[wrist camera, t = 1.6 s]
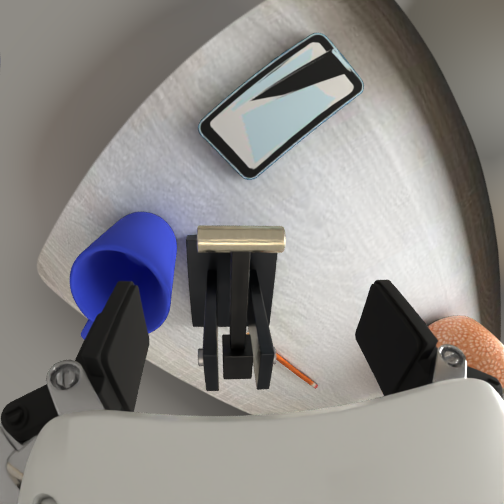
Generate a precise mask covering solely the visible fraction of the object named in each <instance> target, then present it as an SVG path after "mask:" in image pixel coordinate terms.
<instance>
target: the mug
mask: <svg viewBox="0 0 504 504" xmlns="http://www.w3.org/2000/svg"><path fill="white" fill-rule="evenodd" d="M176 253H177V243H176V238H175V235H174V233H173V231H172V229H171V227H170V226H169V225H168V224H167V222H166V221H164V220H163V219H162V218H161V217H159V216H157V215H155V214H152V213H148V212H135V213H131V214H129V215H126V216H125V217H123V218H122V219H120V220H119V221H118V222H116V223H115V224H114V225H113V226H112V227H110V228H109V229H108V230H107V231H106V232H105V233H103V234H102V235H101V236H100V237H99V238H98V239H96V240H95V241H94V242H93V243H92V244H91V245H90V246H89V247H87V248H86V249H85V250H84V251H83V252H82V253H81V254H80V255H79V256H78V257H77V258H76V260H75V261H74V263H73V265H72V268H71V272H70V288H71V293H72V296H73V298H74V300H75V302H76V304H77V306H78V307H79V309H80V310H81V312H82V313H83V314H84V315H85V316H86V317H87V318H88V321H87V323H86V325H85V327H84V329H83V330H82V332H81V336H82V338H83V339H85V338H86V336H87V334H88V332H89V330H90V328H91V326H92V324H93V322H94V320H95V318H96V316H97V315H98V314H99V313H101V312H102V310H103V308H104V307H105V305H106V303H107V301H108V299H109V297H110V295H111V293H112V291H113V290H114V288H115V286H116V284H117V282H118V281H132V282H133V283H134V285H137V286H138V288H139V293H140V298H141V303H142V308H143V313H144V317H145V322H146V326H147V331H148V334H149V333H151V332H153V331H155V330H156V329H157V328H159V327H160V326H161V325H162V324H163V322H164V321H165V320H166V318H167V316H168V313H169V310H170V304H171V295H172V286H173V277H174V269H175V261H176Z"/></svg>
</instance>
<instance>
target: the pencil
mask: <svg viewBox="0 0 504 504" xmlns="http://www.w3.org/2000/svg"><path fill="white" fill-rule="evenodd" d="M246 333H247V334H249V333H248V332H246ZM276 360H278V361H279V362H280V363H281V364H283V365H284V366H285V367H287V368H288V369H289V370H291V371H292V372H293V373H295V374H296V375H297V376H299V377H300V378H301V379H303V380H304V381H305V382H307V383H308V384H309V385H311V386H312V387H314V388H317V386H318V385H317V384H315V383H314V382H313V381H312V380H310V379H309V378H308V377H306V376H305V375H304V374H302V373H301V372H300V371H299V370H297V369H296V368H295V367H293V366H292V365H291V364H290V363H288V362H287V361H286V360H285V359H283V358H282V357H281V356H280V355H278V354H277V353H276Z"/></svg>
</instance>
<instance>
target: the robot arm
mask: <svg viewBox="0 0 504 504" xmlns="http://www.w3.org/2000/svg"><path fill="white" fill-rule="evenodd" d="M355 337H356V341H357V343H358V344H359V346H360V348H361V350H362V352H363V354H364V356H365V358H366V360H367V362H368V364H369V366H370V368H371V370H372V372H373V374H374V376H375V378H376V380H377V382H378V384H379V386H380V388H381V390H382V392H383V395H384V396H383V397H379V398H375V399H370V400H366V401H361V402H356V403H351V404H345V405H340V406H334V407H328V408H321V409H314V410H306V411H298V412H289V413H278V414H265V415H249V416H248V415H247V416H185V415H165V414H151V413H139V412H134V408H135V404H136V399H137V394H138V389H139V385H140V380H141V376H142V372H143V367H144V363H145V359H146V355H147V351H148V347H149V335H148V331H147V326H146V322H145V317H144V313H143V308H142V303H141V298H140V293H139V288H138V286H137V285H134V283H133V282H132V281H118V282H117V284H116V286H115V288H114V290H113V291H112V293H111V295H110V297H109V299H108V301H107V303H106V305H105V307H104V308H103V310H102V312H101V313H99V314H98V315H97V316H96V318H95V320H94V322H93V324H92V326H91V328H90V330H89V332H88V334H87V336H86V338H85V340H84V342H83V344H82V347H81V349H80V351H79V353H78V355H77V357H76V360H75V361H73V360H63V361H60V362H58V363H56V364H54V365H53V366H52V367H51V368H50V370H49V371H48V373H47V378H46V381H47V384H46V385H44V386H43V387H41V388H38V389H36V390H34V391H32V392H30V393H28V394H26V395H24V396H22V397H20V398H18V399H16V400H14V401H12V402H10V403H9V404H7V405H6V407H5V408H4V409H3V412H2V414H1V424H0V504H504V393H503V388H502V385H501V383H500V382H499V380H498V379H497V378H496V377H493V376H492V375H489V374H487V373H484V372H482V371H479V370H477V369H474V368H472V367H469V366H467V360H466V357H465V355H464V353H463V352H462V351H461V350H460V349H459V348H458V347H456V346H454V345H450V344H443V345H441V346H440V347H439V348H437V347H436V344H437V343H438V339H437V338H436V337H435V335H434V334H433V333H432V332H431V330H430V329H429V328H428V326H427V325H426V324H425V323H424V321H423V320H422V319H421V318H420V316H419V315H418V314H417V313H416V311H415V310H414V309H413V308H412V306H411V305H410V304H409V303H408V302H407V300H406V299H405V298H404V297H403V296H402V294H401V293H400V292H399V291H398V290H397V288H396V287H395V286H394V285H393V284H392V283H391V281H389V280H376V281H375V282H374V284H372V285H371V287H370V290H369V293H368V296H367V300H366V303H365V306H364V309H363V312H362V315H361V318H360V321H359V324H358V327H357V329H356V333H355Z"/></svg>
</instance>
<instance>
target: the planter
mask: <svg viewBox="0 0 504 504" xmlns="http://www.w3.org/2000/svg"><path fill="white" fill-rule="evenodd" d="M428 328H429V329H430V330H431V332H432V333H433V334H434V335H435V337H436V338H437V339H438V343H437V344H436V347H437V348H439V347H440V346H441V345H443V344H450V345H454V346H456V347H458V348H459V349H460V350H461V351H462V352H463V353H464V355H465V357H466V360H467V366H469V367H472V368H474V369H477V370H479V371H482V372H484V373H487V374H489V375H492V376H493V377H496V378H497V379H498V380H499V382H500V383H501V385H502V388H503V393H504V345H503V344H502V343H501V342H500V341H499V340H498V339H497V338H496V337H495V336H494V335H493V334H492V333H491V332H489V331H488V330H487V329H486V328H485V327H483V326H482V325H481V324H479V323H478V322H477V321H475V320H474V319H472V318H469V317H466V316H450V317H445V318H442V319H440V320H437V321H435V322H433V323H432V324H430V325H428Z"/></svg>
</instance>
